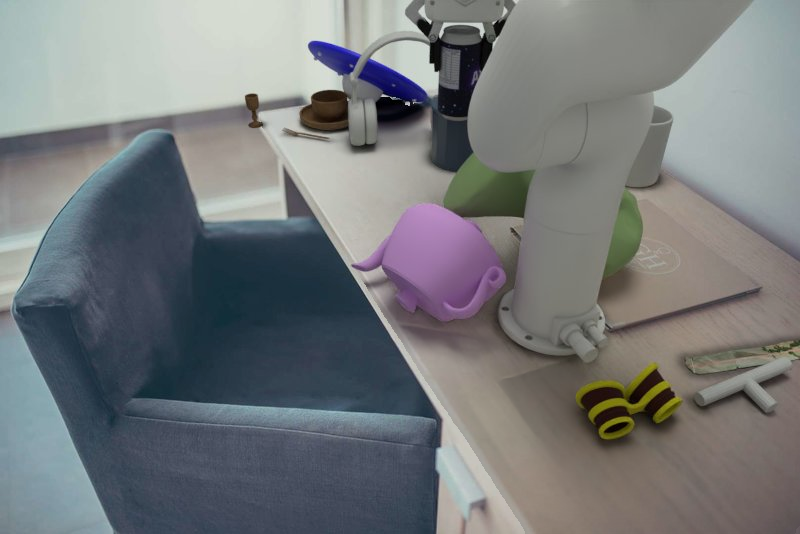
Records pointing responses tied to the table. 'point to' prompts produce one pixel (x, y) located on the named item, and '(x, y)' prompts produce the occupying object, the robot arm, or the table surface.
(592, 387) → the opera glasses
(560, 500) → the table surface
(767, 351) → the bookmark
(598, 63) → the robot arm
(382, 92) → the toy spaceship
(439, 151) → the pot
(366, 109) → the headphones
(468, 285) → the teapot
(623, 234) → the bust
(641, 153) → the mug
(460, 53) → the beverage can
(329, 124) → the place setting
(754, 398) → the pipe joint
